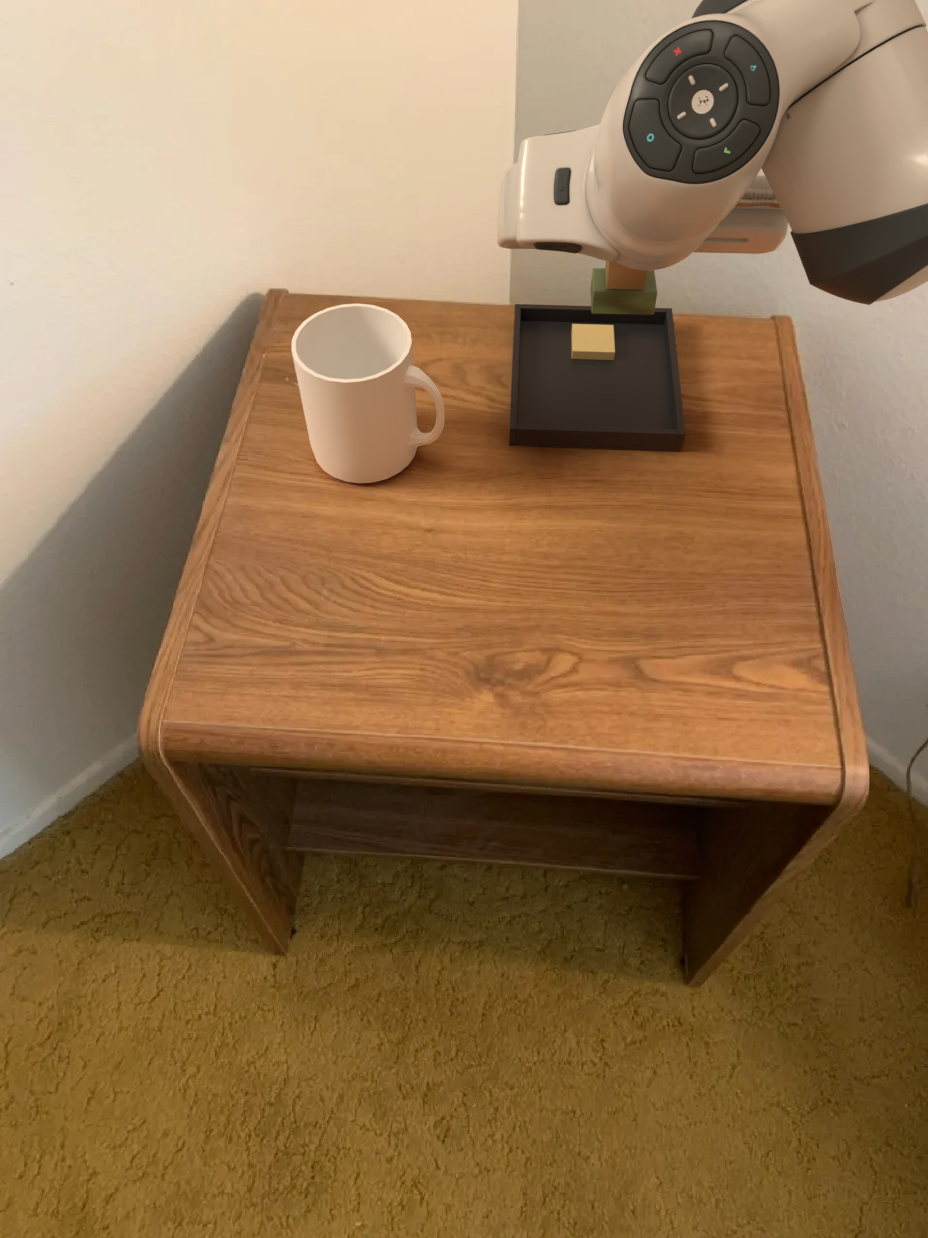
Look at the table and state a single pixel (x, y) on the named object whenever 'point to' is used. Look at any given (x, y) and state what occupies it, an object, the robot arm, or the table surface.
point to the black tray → (595, 382)
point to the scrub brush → (623, 290)
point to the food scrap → (592, 342)
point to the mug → (361, 392)
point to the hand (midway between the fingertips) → (627, 240)
